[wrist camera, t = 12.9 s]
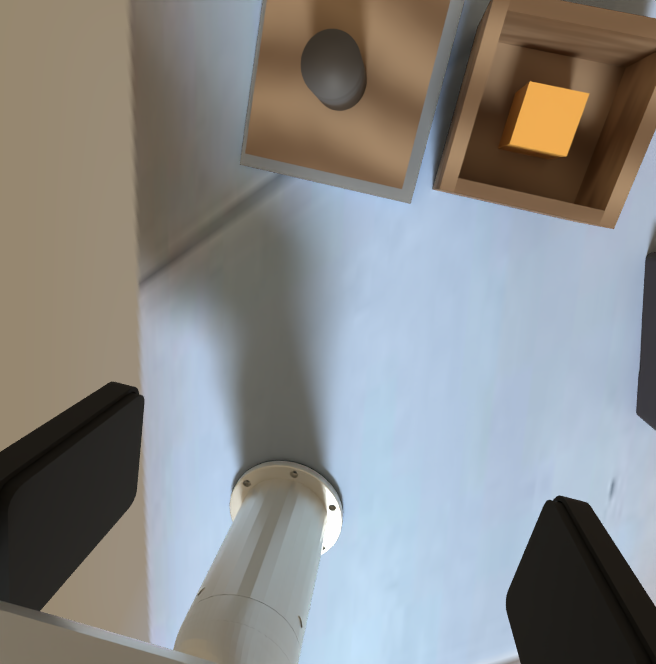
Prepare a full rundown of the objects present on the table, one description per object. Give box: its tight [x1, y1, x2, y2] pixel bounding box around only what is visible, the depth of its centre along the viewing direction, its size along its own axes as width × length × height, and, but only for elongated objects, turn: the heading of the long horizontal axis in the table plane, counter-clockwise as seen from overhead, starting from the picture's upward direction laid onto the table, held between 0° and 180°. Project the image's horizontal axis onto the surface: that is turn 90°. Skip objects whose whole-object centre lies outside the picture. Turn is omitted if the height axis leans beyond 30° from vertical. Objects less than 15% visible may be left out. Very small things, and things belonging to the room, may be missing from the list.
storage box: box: [433, 0, 656, 229], centre depth 32 cm, size 12×12×7 cm
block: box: [498, 81, 590, 160], centre depth 33 cm, size 4×4×4 cm
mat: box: [240, 0, 465, 204], centre depth 36 cm, size 15×15×1 cm
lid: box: [245, 0, 450, 189], centre depth 32 cm, size 13×13×7 cm
